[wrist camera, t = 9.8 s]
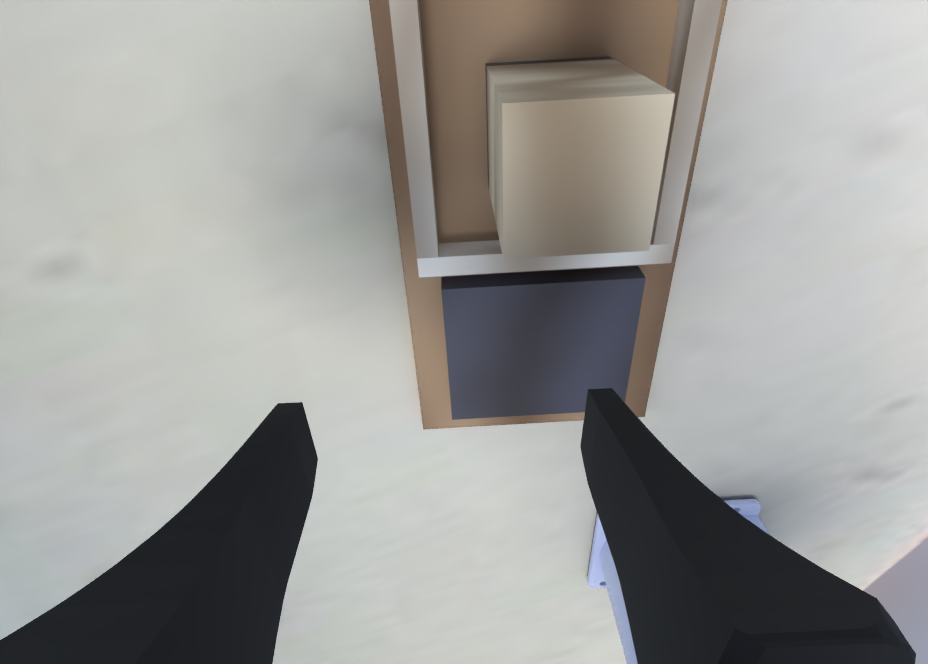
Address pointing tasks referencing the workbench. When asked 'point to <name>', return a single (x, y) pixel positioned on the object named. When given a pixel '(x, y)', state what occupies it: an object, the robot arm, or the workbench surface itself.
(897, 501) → the workbench surface
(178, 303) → the workbench surface
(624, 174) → the stamp
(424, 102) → the board
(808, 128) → the workbench surface
